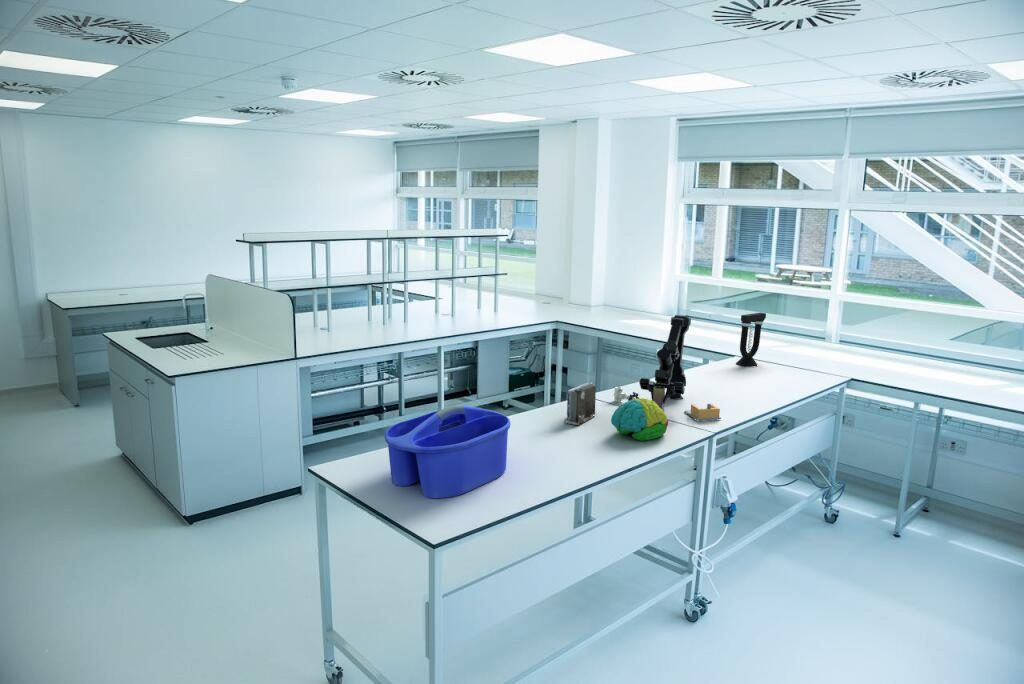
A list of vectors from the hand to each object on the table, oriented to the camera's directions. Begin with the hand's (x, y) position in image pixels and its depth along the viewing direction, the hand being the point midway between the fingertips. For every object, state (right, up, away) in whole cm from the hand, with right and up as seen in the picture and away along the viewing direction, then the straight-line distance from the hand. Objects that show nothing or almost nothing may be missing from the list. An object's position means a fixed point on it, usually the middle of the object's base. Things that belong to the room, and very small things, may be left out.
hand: (658, 402), depth 275 cm
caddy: (-83, -18, -61) cm, 105 cm away
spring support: (+76, +13, +104) cm, 130 cm away
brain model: (-12, -11, -22) cm, 27 cm away
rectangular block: (+1, -6, +2) cm, 7 cm away
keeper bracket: (+20, -6, +4) cm, 21 cm away
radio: (-33, -7, 0) cm, 34 cm away
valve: (-10, -3, +22) cm, 25 cm away
